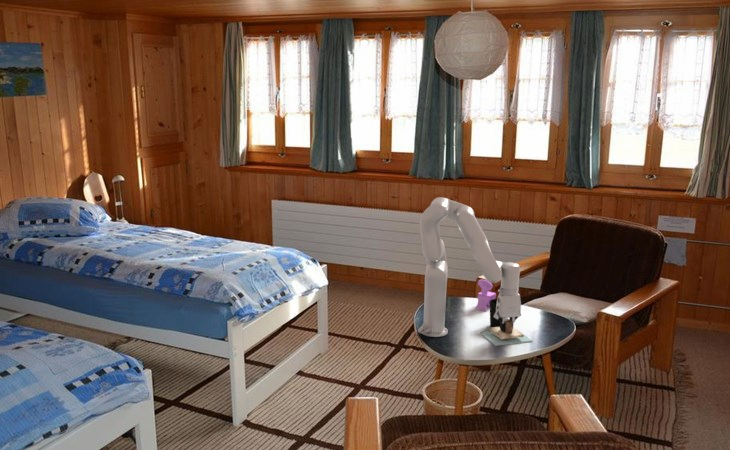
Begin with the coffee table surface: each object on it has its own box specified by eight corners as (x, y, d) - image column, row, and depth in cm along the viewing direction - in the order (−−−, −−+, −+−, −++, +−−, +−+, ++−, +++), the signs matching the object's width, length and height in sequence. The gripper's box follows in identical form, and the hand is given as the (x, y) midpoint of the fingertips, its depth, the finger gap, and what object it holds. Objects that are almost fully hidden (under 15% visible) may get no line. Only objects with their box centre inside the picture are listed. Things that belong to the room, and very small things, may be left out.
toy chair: (497, 307, 327) (499, 278, 324) (488, 311, 321) (490, 282, 317) (483, 303, 332) (484, 275, 329) (473, 307, 326) (475, 278, 323)
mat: (495, 345, 279) (495, 344, 279) (480, 333, 292) (480, 332, 292) (532, 341, 285) (532, 340, 284) (516, 330, 298) (516, 328, 298)
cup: (504, 330, 297) (506, 305, 294) (487, 328, 299) (489, 303, 296) (504, 324, 304) (506, 299, 302) (488, 322, 306) (489, 298, 303)
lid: (501, 339, 281) (502, 326, 280) (489, 329, 292) (490, 317, 290) (523, 336, 284) (524, 324, 283) (511, 327, 295) (512, 315, 293)
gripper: (496, 295, 278) (493, 335, 282) (530, 292, 283) (527, 332, 287) (488, 289, 285) (485, 329, 289) (521, 287, 290) (518, 326, 294)
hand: (506, 330), depth 288 cm, fingers closed on lid, 3 cm apart
